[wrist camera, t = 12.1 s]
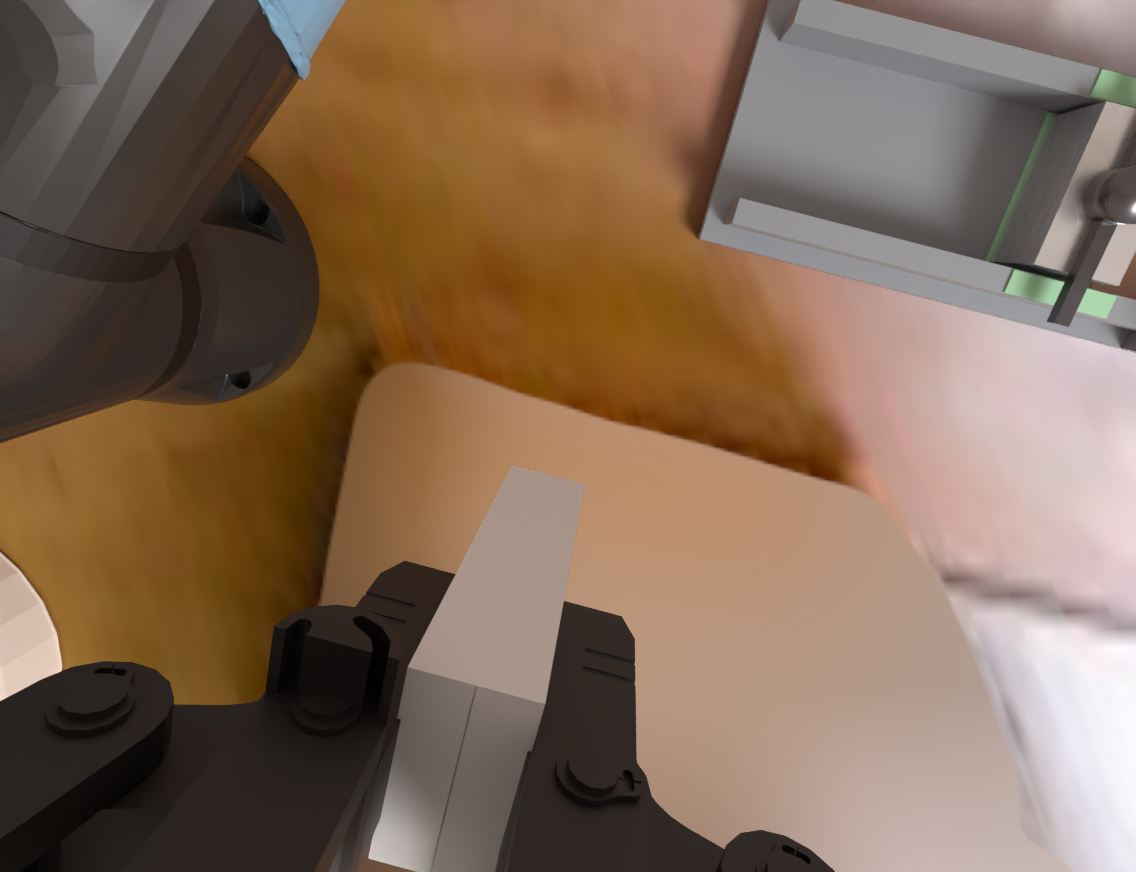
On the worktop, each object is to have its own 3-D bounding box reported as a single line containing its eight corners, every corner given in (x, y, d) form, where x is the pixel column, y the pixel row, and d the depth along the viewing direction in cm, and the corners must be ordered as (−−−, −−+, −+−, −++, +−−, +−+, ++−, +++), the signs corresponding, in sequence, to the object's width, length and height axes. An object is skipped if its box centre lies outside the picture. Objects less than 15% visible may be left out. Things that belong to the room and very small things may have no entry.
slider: (970, 305, 35) (1034, 317, 30) (1071, 66, 32) (1165, 29, 26) (1044, 324, 35) (1122, 339, 30) (1154, 87, 32) (1265, 54, 26)
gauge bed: (697, 239, 37) (713, 238, 30) (769, -5, 33) (806, -70, 26) (1159, 358, 36) (1283, 386, 29) (1281, 125, 33) (1454, 94, 26)
